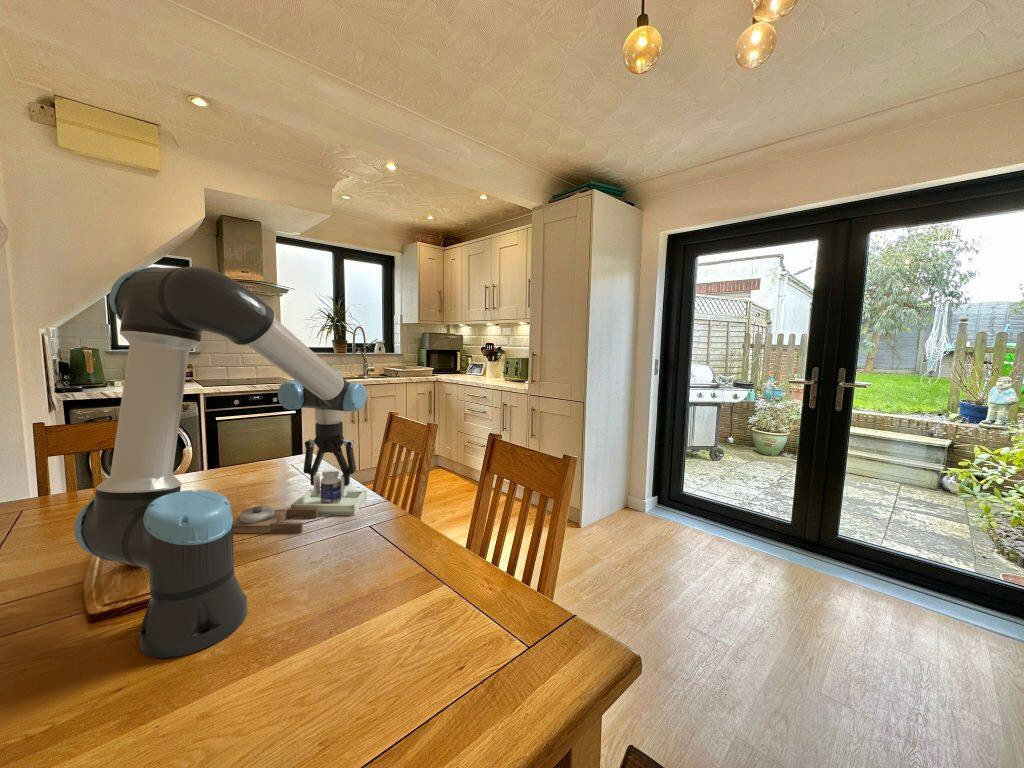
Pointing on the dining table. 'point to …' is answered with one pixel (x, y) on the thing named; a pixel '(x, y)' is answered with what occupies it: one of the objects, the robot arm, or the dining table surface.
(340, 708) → the dining table surface
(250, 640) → the dining table surface
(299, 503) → the tray
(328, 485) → the pill bottle
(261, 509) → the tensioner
